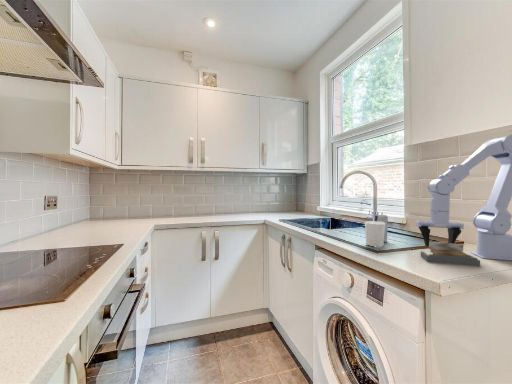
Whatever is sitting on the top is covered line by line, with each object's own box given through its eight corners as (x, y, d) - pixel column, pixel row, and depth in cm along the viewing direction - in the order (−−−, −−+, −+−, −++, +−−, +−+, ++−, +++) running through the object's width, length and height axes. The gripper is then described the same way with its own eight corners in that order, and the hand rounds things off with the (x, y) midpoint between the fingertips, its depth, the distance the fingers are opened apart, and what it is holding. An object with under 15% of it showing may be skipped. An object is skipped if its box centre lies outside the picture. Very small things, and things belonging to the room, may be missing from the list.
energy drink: (371, 240, 115) (372, 214, 115) (380, 239, 117) (380, 214, 117) (380, 242, 110) (381, 216, 110) (389, 241, 112) (390, 215, 112)
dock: (463, 256, 90) (463, 249, 89) (479, 266, 79) (480, 258, 79) (416, 253, 94) (416, 246, 94) (426, 261, 84) (427, 254, 84)
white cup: (360, 244, 107) (361, 221, 106) (372, 242, 111) (372, 220, 110) (377, 248, 100) (377, 224, 100) (388, 246, 104) (389, 223, 103)
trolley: (462, 256, 86) (462, 244, 85) (469, 261, 81) (470, 247, 81) (428, 254, 89) (429, 242, 88) (434, 258, 84) (434, 245, 84)
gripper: (457, 210, 94) (456, 245, 94) (414, 209, 98) (413, 242, 99) (467, 212, 87) (465, 250, 88) (420, 210, 91) (419, 246, 92)
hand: (438, 246), depth 93 cm, fingers open, 7 cm apart
